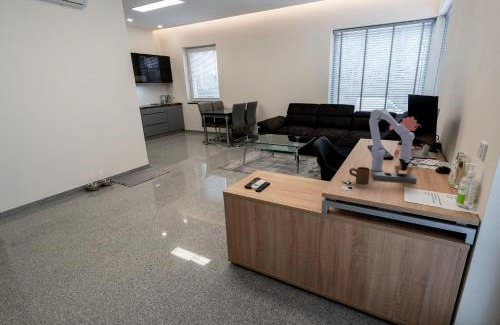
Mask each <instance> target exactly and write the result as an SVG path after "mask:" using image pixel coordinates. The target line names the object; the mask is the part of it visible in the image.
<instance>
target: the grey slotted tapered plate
mask: <svg viewBox="0 0 500 325" xmlns="http://www.w3.org/2000/svg"><path fill="white" fill-rule="evenodd" d="M372 178H373V180H375V181H376V180H377V181H387V182H388V181H389V182H390V181H391V182H399V183H400V182H401V183H411V184H416V183H417V181H418V180H417V179H418V178H417V177H416V176H415V174H412V173H410V174H407V173H400V172H399V173H395V172H384V171H372Z"/></svg>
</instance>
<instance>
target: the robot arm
mask: <svg viewBox="0 0 500 325" xmlns="http://www.w3.org/2000/svg"><path fill="white" fill-rule="evenodd" d="M381 120H385V121H387V123H388V124H390V126H391V125H392V126H393V127H394V129H393V131H395V132H396V134H398V136H400V139H401V141H402V142H401V147H400V149H401V150H400V153H399V158H398V160H399V165H402V170H401V171H403V172H407V171H406V169H407V167H408V165H410V164H411V160H412V159H413V156H412V157H410V155H411V152H412V148H413V140H414V139H415V137H416V136H415V133H414V132H412V131H409V130H407V129H406V128H405V127H404V125H402V124H400V123H398V121H397V120H395V119H394V117H393V116H392V115H391V114H390V112H389V111H388V110H387V109H385V108H378V109H376V108H375V109H373V110H372V111H371V112H370V118H369V121H368V124H369V129H370V134H371V141H372V147H371V151H370V155H371V157H372V158H371V165H370V166H369V167H370V168H369V169H370V171H374V172H384V169H383V165H384V156H386V153H387V151H386V149H385V148H384V145H383V144H382V140H381V134H380V129H379V122H380V121H381Z"/></svg>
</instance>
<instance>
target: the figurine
mask: <svg viewBox="0 0 500 325" xmlns="http://www.w3.org/2000/svg"><path fill="white" fill-rule="evenodd" d="M401 120H402V121H400V122H399V124H402V125H404V127H405V128H406V129H407V130H409V131H410V132H412V131H416V129H418V127H419V126H420V127H421V125H420V124H419V123H417V122H418V120H417V119H415V116H411V117H410V116H407V117H403V118H402V119H401ZM392 130H394V127H393V126H392V125H391V124H390V125H389V131H392ZM399 143H402V140H401V141H398V142H397V143H396V144H397V146H396V148H397V149H395V150H394V152H393V155H394V158H396V157H397V156H399V155H400V150H399ZM413 155H414V154H413V152H412V151H411V155H410V156H412V157H413Z"/></svg>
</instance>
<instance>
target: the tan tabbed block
mask: <svg viewBox="0 0 500 325" xmlns="http://www.w3.org/2000/svg"><path fill="white" fill-rule="evenodd" d="M413 170H414V169H413V165H410V164H409V165H408V167H407V169H406V171H405V172H406V174H412V173H411V172H412V171H413ZM400 171H402V165H400V164H394V173H400Z"/></svg>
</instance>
